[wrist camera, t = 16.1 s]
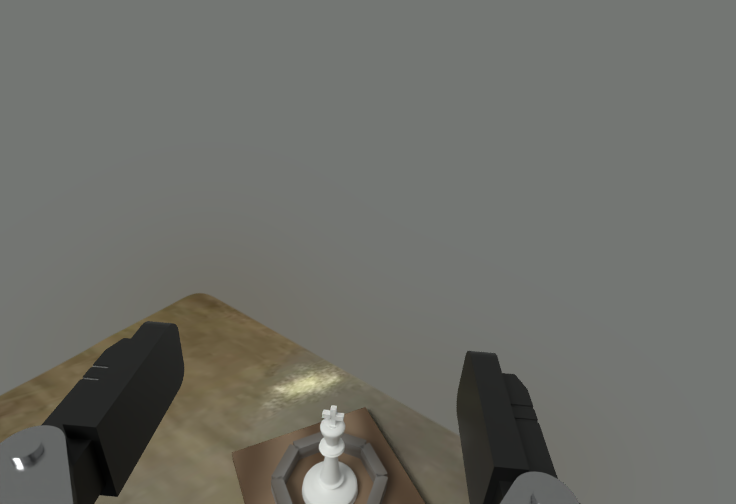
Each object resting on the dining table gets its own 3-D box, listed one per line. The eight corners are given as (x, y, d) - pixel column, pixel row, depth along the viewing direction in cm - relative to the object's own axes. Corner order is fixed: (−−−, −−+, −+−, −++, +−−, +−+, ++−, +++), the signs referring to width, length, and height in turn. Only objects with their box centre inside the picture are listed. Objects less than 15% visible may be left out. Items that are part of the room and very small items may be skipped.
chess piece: (351, 522, 38) (358, 439, 33) (294, 509, 39) (292, 426, 34) (362, 470, 42) (370, 390, 38) (311, 459, 43) (312, 380, 38)
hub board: (364, 413, 49) (366, 396, 48) (438, 533, 39) (442, 516, 37) (232, 459, 43) (230, 441, 42) (275, 616, 33) (274, 598, 31)
